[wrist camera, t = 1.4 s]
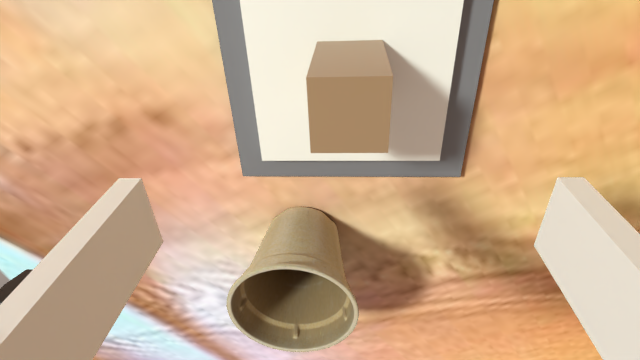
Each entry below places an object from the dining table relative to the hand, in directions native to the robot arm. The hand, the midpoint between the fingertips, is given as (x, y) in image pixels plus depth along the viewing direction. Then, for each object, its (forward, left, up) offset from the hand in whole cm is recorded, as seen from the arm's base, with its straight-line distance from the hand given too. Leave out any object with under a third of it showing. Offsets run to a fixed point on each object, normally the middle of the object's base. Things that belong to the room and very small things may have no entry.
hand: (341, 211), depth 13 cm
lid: (0, 0, -15) cm, 15 cm away
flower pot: (+4, +15, -16) cm, 22 cm away
